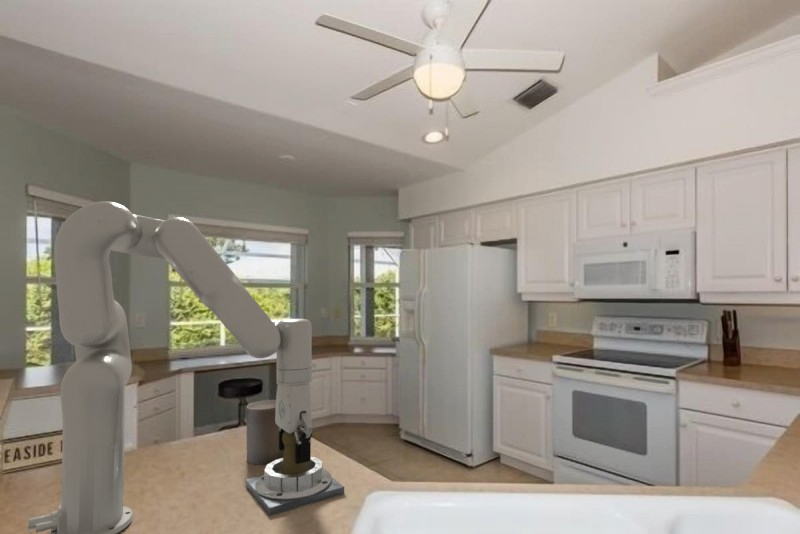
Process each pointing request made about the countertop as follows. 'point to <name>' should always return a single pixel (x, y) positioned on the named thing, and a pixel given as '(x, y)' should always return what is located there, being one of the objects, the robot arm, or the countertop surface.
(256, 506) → the countertop surface
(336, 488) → the rosette plate
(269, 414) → the pillar candle
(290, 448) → the olive knobbed peg
